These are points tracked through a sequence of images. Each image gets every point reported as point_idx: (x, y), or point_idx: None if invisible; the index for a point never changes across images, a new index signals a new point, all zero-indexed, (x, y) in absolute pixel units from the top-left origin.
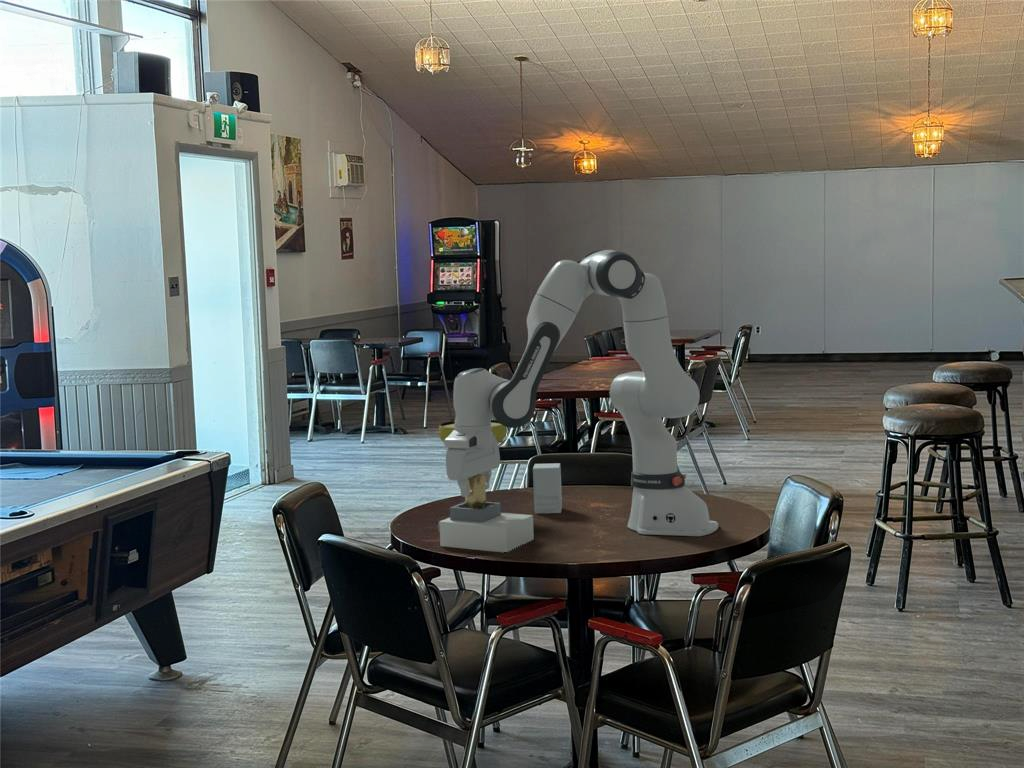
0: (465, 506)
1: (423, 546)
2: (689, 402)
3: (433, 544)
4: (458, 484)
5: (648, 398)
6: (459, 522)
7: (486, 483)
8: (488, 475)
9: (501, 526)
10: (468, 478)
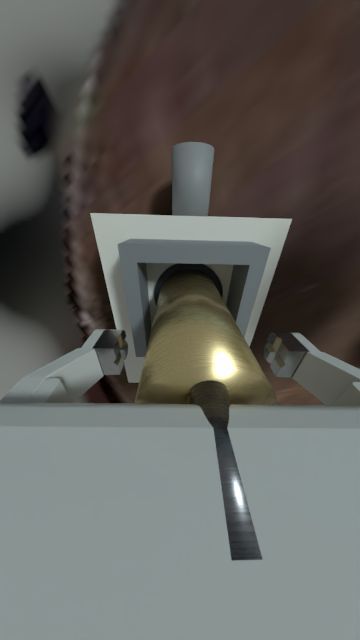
0: (167, 288)
1: (91, 161)
2: None
3: (123, 181)
4: (39, 371)
5: None
6: (115, 284)
7: (274, 373)
8: (331, 401)
9: (130, 375)
10: (136, 402)
